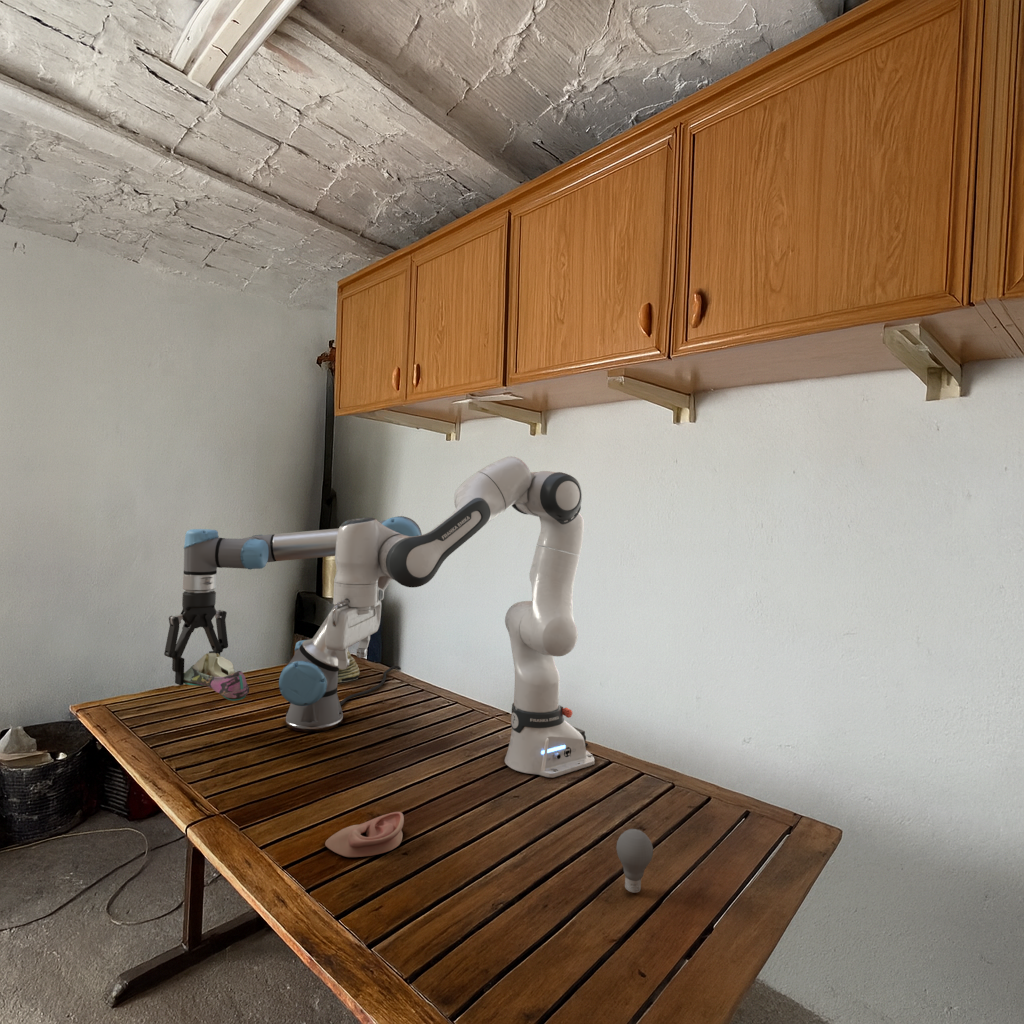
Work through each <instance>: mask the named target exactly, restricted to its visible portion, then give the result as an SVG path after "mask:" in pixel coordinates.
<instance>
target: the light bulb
mask: <svg viewBox="0 0 1024 1024" xmlns="http://www.w3.org/2000/svg"><path fill="white" fill-rule="evenodd" d="M615 849H616V854H617V857H618V859H619V861H620V863H621V865H622V867H623V873H624V874H623V875H624V876H625V878H624V888H625V890H627V891H628V892H630V893H634V894H635V893H639V892H640V891H641V889H642V887H641V886H642V879H643V877H644V875H645V871H646V868H647V867H648V866H649V864H650V863H651V861H652V859H653V855H654V847H653V843H652V841H651V838H649V836H648V835H647V834H646V833H645V832H643V831H642V830H641V829H636V828H629V829H627V830H625V831H623V832H622V833H621V834H620V835H619V837H618V839H617V841H616V847H615Z"/></svg>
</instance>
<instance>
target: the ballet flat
mask: <svg viewBox="0 0 1024 1024" xmlns="http://www.w3.org/2000/svg"><path fill="white" fill-rule="evenodd" d="M234 667H235V665H234V664H233V662H232V661H230V660H229V659H228V658H225V657H224V656H221V654H220V655H219V654H218V653H209V652H207V653H205V654H203V656H201V657H200V658H199V660H197V661H196V662H195V663H194V664H192V665H191V666H190V667H189V668H188V669H187V670H186V671H184V685H187V686H196V687H208V688H209V689H212V690H213V691H214V692H216V693H217V694H219V695H220V696H222V697H223V698H224V699H226V700H227V701H230V702H231V701H232V702H237V701H241V700H243V699H245V698H246V697H247V696H248V695H249V693H250V687H249V684H248V682H247V679H246V676H245V674H244V673H243V671H242V670H238V671H237V670H236V671H235V669H234Z"/></svg>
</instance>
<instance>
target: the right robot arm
mask: <svg viewBox="0 0 1024 1024" xmlns="http://www.w3.org/2000/svg"><path fill="white" fill-rule="evenodd" d="M582 496H583V493H582V487H581V485H580V482H579V481H578V480H577V478H576V477H574V476H572V475H571V474H568V473H566V472H561V471H557V472H556V471H551V470H550V471H549V470H540V471H530V469H529V467H528V465H527V464H526V463H525V461H524V460H522V459H521V458H519V457H516V456H506V457H504V458H500V459H498V460H496V461H494V462H492V463H490V464H488V465H486V466H484V467H482V468H481V469H479V470H478V471H476V472H474V473H473V474H472V475H470V476H469V477H468V478H466V479H465V480H464V481H463V482H462V483H461V484H460V485H459V486H458V487H457V488H456V490H455V492H454V497H453V500H454V507H455V510H454V511H453V512H452V513H451V514H450V515H448V516H447V517H446V518H445V519H444V520H442V521H441V522H439V524H436V526H434V527H433V528H432V529H431V530H429V531H428V532H426V533H424V534H422V535H420V536H412V537H411V536H407V535H403V534H400V533H398V532H395V531H393V530H391V529H389V528H387V527H386V526H384V525H382V524H381V523H380V522H378V521H379V520H377V518H374V517H371V516H366V517H356V518H350V519H348V520H345V521H343V522H342V523H341V524H340V526H339V530H338V534H337V541H336V550H335V556H334V563H335V567H336V571H335V575H334V579H333V599H332V605H333V606H335V608H334V609H333V608H332V609H333V610H332V609H331V610H332V611H331V610H330V611H329V613H330V614H329V613H328V615H329V616H328V615H327V616H328V621H327V629H326V640H325V644H326V648H327V649H328V650H335V653H336V656H337V659H338V668H339V669H346V668H348V667H349V659H348V656H347V652H348V650H349V648H350V647H352V646H353V645H355V644H357V643H358V647H357V649H356V657H357V658H359V659H360V658H361V659H364V658H365V657H366V656H367V655H368V647H369V644H370V642H371V641H370V640H371V635H373V634H375V633H377V632H378V630H379V629H380V625H381V616H382V601H383V600H384V599H385V591H383V590H382V589H380V588H379V587H378V578H379V577H381V576H387V577H389V578H391V579H392V580H393V581H395V582H397V583H398V584H399V585H402V586H404V587H406V588H419V587H422V586H424V585H427V584H428V583H429V582H430V581H431V580H432V579H433V578H434V577H435V576H436V574H437V572H438V571H439V569H440V568H441V566H442V564H443V563H444V562H445V561H446V559H448V557H450V555H452V554H453V553H454V552H455V551H456V550H457V549H459V548H460V547H461V546H462V545H464V544H465V543H466V542H467V541H468V540H469V539H471V538H472V537H473V536H474V535H475V534H476V533H478V532H479V531H480V530H481V529H482V528H483V527H485V526H486V525H487V524H489V523H490V522H491V521H493V520H494V519H495V518H497V517H499V516H500V515H501V514H503V513H504V512H506V511H507V510H508V509H510V508H511V507H512V508H513V509H514V510H515V511H516V512H519V513H520V514H523V515H529V516H532V517H537V518H539V521H540V532H539V535H538V538H537V542H536V546H535V550H534V553H533V558H532V562H531V566H530V571H529V581H530V584H531V600H522V601H521V600H520V601H517V602H515V603H513V604H512V605H511V606H510V607H508V609H507V611H506V613H505V618H504V624H505V627H506V631H507V632H508V636H509V641H510V647H511V654H512V661H513V669H514V670H513V671H514V687H513V689H514V690H513V703H512V704H511V717H510V722H511V724H510V726H511V732H510V738H509V743H508V747H507V751H506V754H505V757H504V763H505V765H506V766H507V767H509V768H510V769H512V770H513V771H517V772H520V773H523V774H528V775H529V774H530V775H538V776H541V777H545V778H551V779H552V778H557V777H561V776H564V775H566V774H570V773H572V772H576V771H578V770H581V769H586V768H588V767H591V766H593V765H595V763H596V762H595V761H596V760H595V756H593V754H592V753H591V752H589V750H588V749H587V746H589V744H588V742H586V741H587V737H586V731H585V730H583V729H580V728H578V727H576V726H573V725H572V724H570V723H569V722H567V721H566V720H565V718H568V719H569V718H571V717H572V716H573V711H572V709H570V708H568V707H564V706H562V705H561V704H560V703H559V702H560V682H561V681H560V680H561V676H560V672H559V669H558V667H557V665H556V661H555V657H563V656H566V655H568V654H569V653H570V652H572V651H573V649H574V648H575V647H576V644H577V642H578V639H579V631H578V627H577V625H576V622H575V618H574V609H573V608H574V606H573V602H574V601H573V600H574V599H573V597H574V595H573V594H574V593H573V592H574V584H575V579H576V575H577V570H578V565H579V561H580V556H581V552H582V547H583V542H584V533H585V532H584V530H585V520H584V516H583V515H582V514H581V513H580V512H581V508H582V507H581V506H582V500H583V497H582ZM564 716H565V717H564Z"/></svg>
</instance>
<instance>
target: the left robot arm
mask: <svg viewBox="0 0 1024 1024" xmlns="http://www.w3.org/2000/svg"><path fill="white" fill-rule="evenodd" d="M377 521H378V522H380V523H381V524H382V525H384V526H386V527H387V528H389V529H391V530H393V531H395V532H398V533H400V534H403V535H407V536H411V537H412V536H420V535H423V534H422V530H421V528H420V526H419V524H418V522H416V521H415V520H414V519H412V518H410V517H407V516H403V515H400V516H399V515H397V516H392V517H390V518H387V519H384V520H377ZM338 530H339V528H328V529H317V530H306V531H305V530H304V531H295V532H293V531H292V532H284V533H283V532H281V533H273V534H255V535H252V536H248V537H244V538H243V537H242V538H227V537H226V538H225V537H219V536H220V535H219V532H218V530H216V529H210V528H191V529H188V530H187V531H186V532H185V536H184V537H185V538H184V546H183V573H182V576H183V577H182V589H183V590H184V591H183V592H182V597H181V598H182V600H181V601H182V602H181V606H182V610H181V612H180V613H179V614H177V615H169V617H168V623H169V627H168V632H167V637H166V643H165V648H164V651H163V652H164V653H163V655H164V656H165V657H167V658H170V659H172V662H171V670H172V671H173V672H175V673H174V684H176V685H178V686H184V685H185V684H184V673H185V658H184V657H183V654H184V651H185V649H186V647H187V645H188V643H189V640H190V638H191V636H192V634H193V633H194V631H195V630H196V629H199V628H202V629H203V630H204V632H205V635H206V637H207V639H208V642H209V645H210V647H211V650H210V651H208V653H218V654H219V655H220V656H221V654H222V653H223V652H224V649H228V647H229V641H228V633H227V624H226V623H227V622H226V619H227V618H226V617H227V613H228V612H227V611H226V610H222V609H218V610H216V607H215V606H216V602H217V601H216V598H217V592H216V591H215V589H217V570H218V568H220V569H223V568H225V569H243V570H244V569H245V570H246V569H247V570H260V569H264V568H265V567H266V565H267V563H275V562H284V561H295V560H306V559H316V558H318V559H319V558H329V557H335V550H336V541H337V534H338ZM392 580H393V579H391V578H389V577H387V576H381V577H379V578H378V587H379V588H380V589H382V590H383V591H384V592H385V591H386V589H387V587H388V586H389V584H390V583H391V582H392ZM334 608H335V605H333V607H332V608H331V610H330V612H331V611H332V610H333V609H334ZM330 612H329V613H328V615H327V616H326V617H325V619H324V621H323V622H322V624H321V625H320V627H319V628H318V630H317V631H316V633H315V634H314V635H313V637H312V638H310V639H303V640H302V639H301V640H298V641H297V642H296V643H295V648H294V655H293V657H292V658H291V659H290V661H289V662H288V664H287V665H285V666H284V667H283V669H282V670H281V672H280V675H279V679H278V689H279V693H280V694H281V696H282V697H283V698H284V700H286V701H287V702H288V703H289V708H288V710H287V711H286V712H285V726H286V728H287V729H289V730H291V731H294V732H295V731H296V732H301V733H316V732H325V731H329V730H332V729H335V728H337V727H339V726H340V725H342V723H343V722H344V714H343V709H342V706H343V705H344V704H345V703H346V702H347V701H349V700H351V699H353V698H356V697H360V696H364V695H367V694H370V693H372V692H374V691H376V690H378V689H380V688H381V687H382V686H383V685H384V684H385V682H386V679H387V674H389V673H390V672H391V671H393V670H394V669H397V670H402V668H401V666H400V665H393V666H391V667H389V668H388V669H386V670H385V671H384V672H383V674H382V676H383V678H382V679H381V682H380V683H378V684H377V685H375V686H373V687H371V688H369V689H367V690H363V691H360V692H356V693H353V694H350V695H348V696H346V697H344V698H343V699H341V701H340V699H339V695H338V671H339V668H338V659H337V656H336V653H335V650H328V649H327V648H326V644H325V640H326V629H327V621H328V616H329V614H330ZM214 618H215V624H216V632H217V633H216V632H215V629H214V628H215V626H214V624H213V622H212V621H213V619H214ZM182 621H183V622H184V623H183V625H182V627H181V632H180V624H182ZM179 632H180V634H179Z"/></svg>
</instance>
